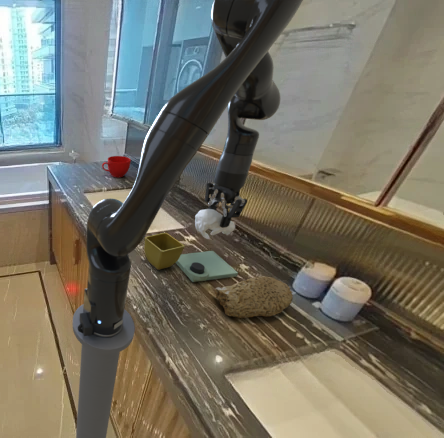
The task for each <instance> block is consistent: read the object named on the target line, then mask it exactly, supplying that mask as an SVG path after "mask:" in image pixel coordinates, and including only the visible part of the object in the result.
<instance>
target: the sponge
mask: <svg viewBox="0 0 444 438" xmlns="http://www.w3.org/2000/svg"><path fill="white" fill-rule="evenodd" d="M214 295H215V298H216V299H217V300H218V302H219V304H220V306H222V307H223V309H224V313H225V315H226V316H229V317H233V318H239V319H242V318H254V317H257V316H258V317H273V316H276V315H277V314H281V313H282V312H283V311H284V310H285V309H287V308H288V307H289V306H290V305H291V304H292V303H293V298H294V297H293V296H294V295H293V291H292V290H291V288H290V286H289V285H288V284H287V283H285V282H283V281H282V280H279V279H276V278H275V277H273V276H263V275H259V276H255V277H250V278H247V279H245V280H241V281H238V282H237V283H235V284H233V285H226V286H223V287H219V286H217V287H215V288H214Z"/></svg>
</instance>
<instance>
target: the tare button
mask: <svg viewBox="0 0 444 438" xmlns="http://www.w3.org/2000/svg"><path fill="white" fill-rule="evenodd" d="M190 269H191V271H192V272H194V273H196V274H202V273H203V272H204V269H205V267H204V265H202V264H201V263H197V262H194V263H192V265H191V268H190Z"/></svg>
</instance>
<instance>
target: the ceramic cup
mask: <svg viewBox="0 0 444 438" xmlns="http://www.w3.org/2000/svg"><path fill="white" fill-rule="evenodd" d="M131 162H132V159H131V158H130V157H127V156H123V155H113V156H109V157H108V158H107V162H106V161H105V162H103V163H102V164H101V168H102V170H103V171H105V172H108V173H109V174H110V175H111V176H112V178H113V177H114V178H119V179H120V178H123V177H124V176H125V175H126V174H127V173H128V172H129V171H130V170H129V169H130V167H131ZM105 165H107V169H106V168H105Z"/></svg>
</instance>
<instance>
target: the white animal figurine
mask: <svg viewBox="0 0 444 438" xmlns="http://www.w3.org/2000/svg"><path fill="white" fill-rule="evenodd" d="M194 215H195V216H194V218H195V219H194V220H195V221H194V226H195V230H196V231H197V232H199V233H200V235H201V237H203V238H204V239H206V240H210V239H211V238H210V236H215V235H218V234H220V233H222V234H223V235H226V236H229V235H231V233H233V232H234V231H235V229H236V224H235V223H234V221H232V220H231V221H230V224H229V226H228V227H224V228H222V227H220V223H221V220H222V216H223V215H222V214H221V213H220V212H218V210H217V209H216V210H213V209H208V208H205V209H199V211H198V212H197V213H196V214H194ZM207 230H210V233H209V234H210V235H209V234H208V233H207V232H206V231H207Z"/></svg>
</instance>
